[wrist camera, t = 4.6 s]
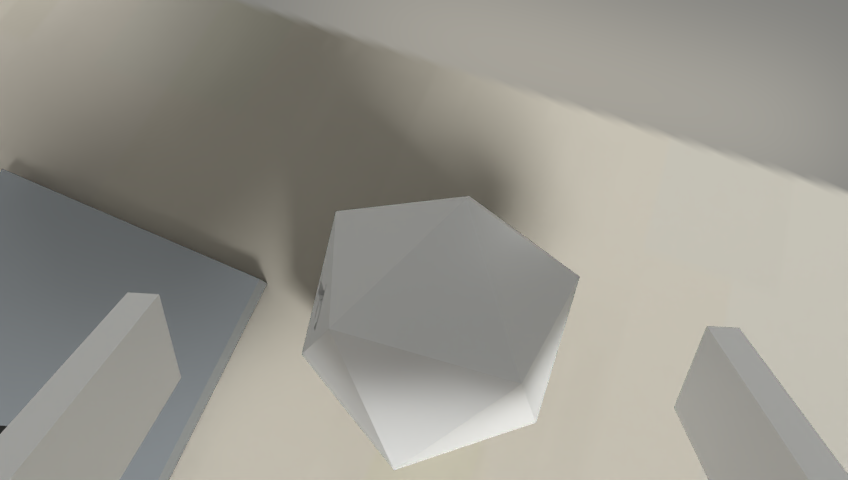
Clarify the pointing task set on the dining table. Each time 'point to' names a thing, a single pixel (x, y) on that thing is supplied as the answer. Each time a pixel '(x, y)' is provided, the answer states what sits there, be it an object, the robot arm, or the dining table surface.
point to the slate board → (110, 306)
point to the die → (436, 325)
